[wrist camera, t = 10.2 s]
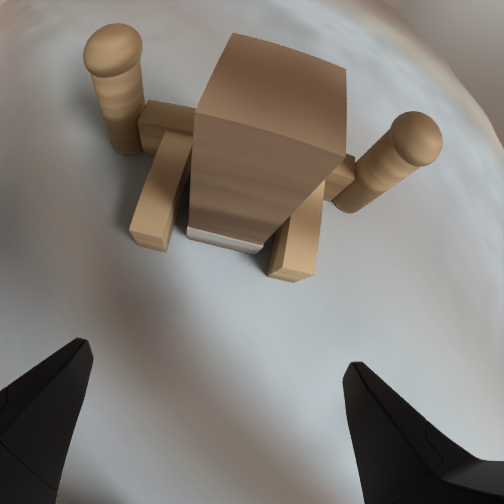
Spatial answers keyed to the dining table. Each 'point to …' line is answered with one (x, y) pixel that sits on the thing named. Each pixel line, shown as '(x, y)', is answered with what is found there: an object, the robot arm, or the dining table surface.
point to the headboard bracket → (180, 155)
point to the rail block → (262, 141)
